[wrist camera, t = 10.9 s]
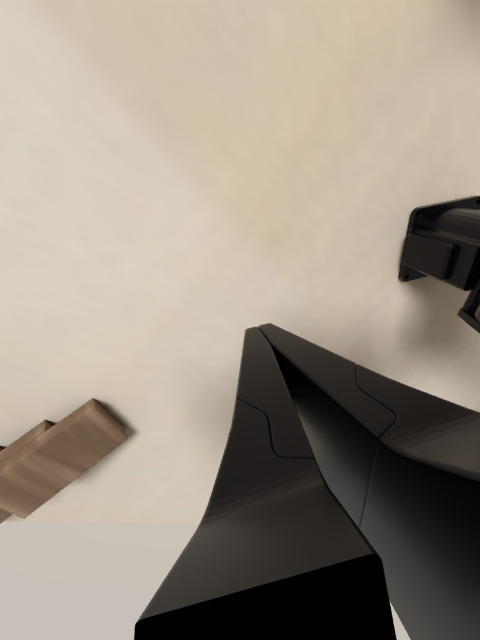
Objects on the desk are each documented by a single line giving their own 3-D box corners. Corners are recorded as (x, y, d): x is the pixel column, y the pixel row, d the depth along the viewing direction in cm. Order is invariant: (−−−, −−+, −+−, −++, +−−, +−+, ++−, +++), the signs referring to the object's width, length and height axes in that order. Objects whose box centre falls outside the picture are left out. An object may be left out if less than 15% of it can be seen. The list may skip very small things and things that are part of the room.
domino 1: (94, 408, 23) (-28, 495, 20) (127, 438, 26) (24, 518, 23) (92, 398, 25) (-23, 478, 22) (124, 427, 27) (26, 503, 24)
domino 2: (44, 430, 23) (-85, 523, 20) (83, 458, 26) (-26, 544, 23) (45, 419, 25) (-77, 506, 22) (81, 447, 27) (-23, 527, 24)
